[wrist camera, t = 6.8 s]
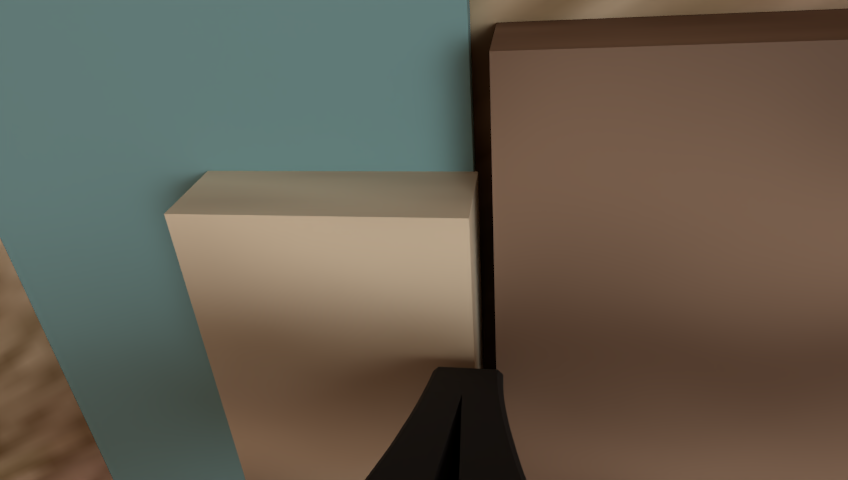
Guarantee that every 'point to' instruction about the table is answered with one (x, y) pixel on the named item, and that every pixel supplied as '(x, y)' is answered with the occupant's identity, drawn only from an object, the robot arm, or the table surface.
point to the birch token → (329, 306)
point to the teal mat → (192, 172)
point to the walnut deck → (673, 245)
